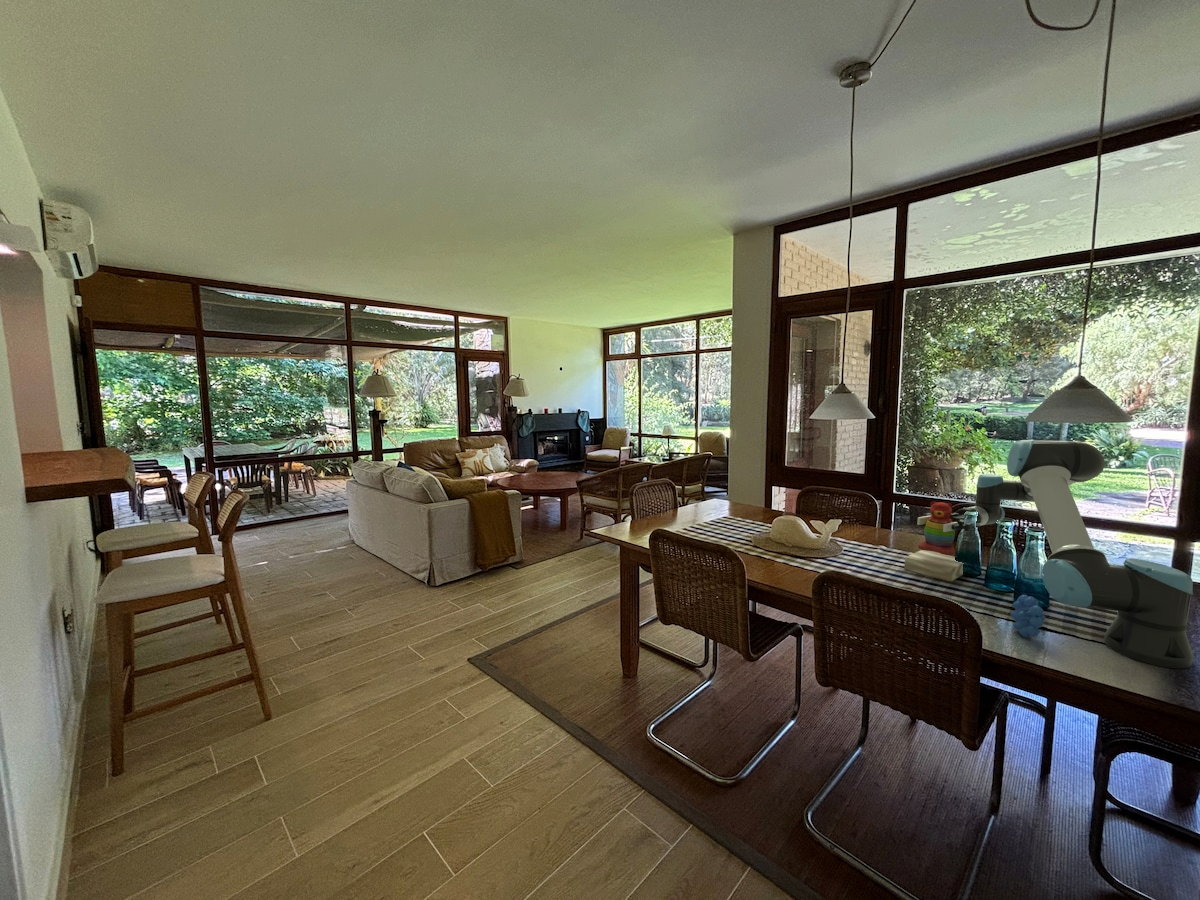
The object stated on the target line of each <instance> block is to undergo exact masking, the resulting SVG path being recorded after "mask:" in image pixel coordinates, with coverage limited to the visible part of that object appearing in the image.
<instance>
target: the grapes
mask: <svg viewBox="0 0 1200 900" xmlns="http://www.w3.org/2000/svg"><path fill="white" fill-rule="evenodd" d="M1011 605H1012V607H1013V608H1014V609H1015V610H1013V611H1012V612H1011V613H1010V617H1011V618H1012V619H1013V620H1014V621H1015V622H1014V623H1013V627H1014V628H1015V629H1016V630H1017V631H1018V633H1020V635H1021V636H1022V637H1024V638H1030V637H1036V636H1038V635H1039V634H1040V633H1041V630H1040V629H1039V628H1042V627H1043V626H1044V624H1045V620H1046V619H1047V618H1046V616H1045V614H1044V612H1045V611H1044V610H1043V609H1044V608H1042V607H1041V606H1040V605H1039V601H1038V599H1037V598H1036V597H1034V596H1031V595H1030V596H1029V595H1027V594H1022V595H1020V596H1019V597H1018V598H1017V600H1015V601H1014V602H1013V603H1012V604H1011Z"/></svg>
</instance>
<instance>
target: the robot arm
mask: <svg viewBox="0 0 1200 900" xmlns="http://www.w3.org/2000/svg"><path fill="white" fill-rule="evenodd" d="M1105 461H1106V459H1105V457H1104V455H1103V453H1102V452H1101V451H1100V450H1099V449H1098V448H1097V447H1095V446H1093V445H1091V444H1089V443H1087V442H1084V441H1079V440H1078V441H1077V440H1049V439H1048V440H1047V439H1046V440H1044V439H1043V440H1040V439H1032V438H1031V439H1021V440H1017V441H1015V442H1014V443H1013V444H1012V445H1011V448H1010V449H1009V452H1008V456H1007V463H1006V464H1007V465H1006V467H1007V473H1008V475H1010V476H1011V477H1014V478H1016V477H1018V478H1019V479H1020V480H1005V479H1004V477H1003V476H1002V475H999V474H995V473H994V474H993V473H982V474H980V475H978V477H977V482H976V494H975V504H974V506H969V507H968V506H967V507H965V508H960V509H958V510H957V511H955V512H952V514H951V516H950V519H951V520H952V521H953V523H947V524H944V526H943V532H948V531H953V530H955V531H957V530H958V531H962V530H964V532H971V531H972V530H973V529H972V523H966V524H965V525H964V513H965V512H966V511H977V512H978V516H977V521H976V528H980V527H981V526H986V525H994V524H997V523H998V522H997V520H1001V521H1003V520H1004V519H1005V515H1006V513H1005V509H1004V508H1003V507H1002V506H1001V501H1014V502H1016V501H1018V502H1031V503H1034V505H1035V507H1036V510H1037V512H1038V516H1039V519H1040V521H1041V524H1042V525H1041V526H1042V527H1043V529H1044V530H1043V531H1044V533H1045V535H1046V539H1047V542H1048V544H1049V548H1050V550H1051V553H1050V555H1049V556H1048V557H1047V560H1046V561H1045V562H1044V563H1043V566H1042V572H1041V573H1042V574H1043V576H1042V582H1043V585H1044V587H1045V589H1046V591H1047V592H1048V594H1049V596H1050V597H1052V598H1053V600H1055V601H1056V602H1058V603H1060V604H1063V605H1066V606H1073V607H1077V608H1083V609H1084V608H1088V609H1095V610H1096V609H1097V610H1105V611H1106V610H1107V611H1114V612H1115V611H1116V612H1117V615H1116V617H1115V618H1114V620H1113V621H1112V622H1111V624H1110V625H1109V627H1108V628H1107V629H1106V631H1105V633H1104V640H1103V642H1104V644H1105V645H1106V646H1107V647H1108V648H1110V649H1111V650H1113V651H1115V652H1116V653H1118V654H1120V655H1122V656H1125V657H1128V658H1131V659H1132V660H1136V661H1139V662H1143V663H1146V664H1149V665H1153V666H1158V667H1162V668H1163V667H1164V668H1170V669H1187V668H1190V667H1192V666H1193V661H1194V656H1193V651H1192V648H1191V646H1190V642H1189V639H1188V636H1187V623H1188V618H1189V611H1190V607H1191V602H1192V595H1193V594H1194V592H1193V590H1194V589H1193V588H1194V587H1193V583H1194V582H1193V578H1192V577H1191V576H1190V575H1189V574H1188V573H1186V572H1184V571H1182V570H1180V569H1176V568H1174V567H1171V566H1168V565H1164V564H1160V563H1157V562H1153V561H1149V560H1144V559H1139V558H1138V559H1137V558H1125V560H1124V561H1123V562H1122V563H1123V564H1122V565H1121V564H1112V563H1109V562H1108V560H1107V557H1106V555H1105V553H1104V552H1103V551H1101V550H1098V549H1095V547H1094V545H1093V543H1092V539H1091V537H1090V534H1089V533H1088V531H1087V528H1086V525H1085V523H1084V521H1083V517H1082V516H1081V513H1080V510H1079V509H1078V505H1077V504H1076V500H1075V498H1074V495H1073V493H1072V491H1071V488H1070V486H1071V485H1073V484H1075V483H1084V482H1085V483H1086V482H1088V481H1090V480H1093V479H1095V478H1097V477H1098V476H1099V475H1101V474H1102V472H1103V471H1104V469H1105V467H1106V466H1105V465H1106V462H1105ZM931 516H932V515H931V513H930V512H928V513H923V516H919V517H917V523H916V525H917V526H922V525H926V522H927V520H928V518H929V517H931ZM996 522H997V523H996ZM976 528H975V529H976Z"/></svg>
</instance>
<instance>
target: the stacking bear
mask: <svg viewBox="0 0 1200 900" xmlns="http://www.w3.org/2000/svg"><path fill="white" fill-rule="evenodd" d="M952 508H953V504H952V503H951V502H949V503H947V502H941V501H939V502H936V501H931V502H930V507H929V511H930V512H929V513H931V515H932V516H931V517H929V518H928V520H927V522H926V524H924V525H925V526H924V528H923V530H924V532H923V534H924V539H925V540H924V541H922V542H920V543H919V544H918V546H917V548H918V549H919V550H925V551H933V552H937V553H940V554H943V555H949V556H953V555H954V554H955V549H954V547H953V542H954V540H955V536H956V530H953V531H948V532H943V526H944V524H947V523H953V521H952V520H951V519H950V516H951V514H953V509H952Z"/></svg>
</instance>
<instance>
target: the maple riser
mask: <svg viewBox="0 0 1200 900" xmlns="http://www.w3.org/2000/svg"><path fill="white" fill-rule="evenodd" d="M955 557H956V556H953V555H943V554H940V553H938V552H933V551H925V550H921V549H919V550H918V551H916V552H913V553H912V554H910V555H907V556H905V558H904V570H907V571H910V572H914V573H917V574H922V575H924V576H928V577H932V578H936V579H939V580H942V579H943V581H946V580H947V582H949V581H951V582H953V581H954V580H956V579H958V578H960V577H962V576H964V575H963V564H964V563H962V562H958V561H956V560H955Z"/></svg>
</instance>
